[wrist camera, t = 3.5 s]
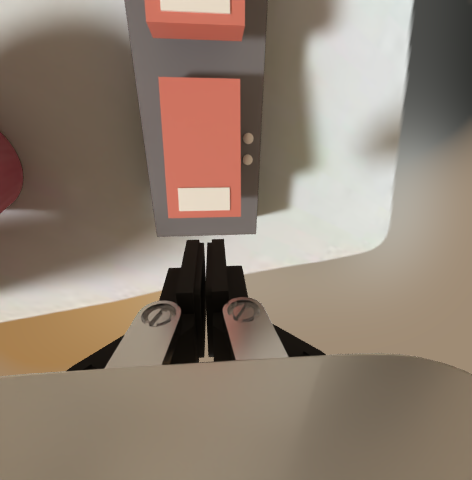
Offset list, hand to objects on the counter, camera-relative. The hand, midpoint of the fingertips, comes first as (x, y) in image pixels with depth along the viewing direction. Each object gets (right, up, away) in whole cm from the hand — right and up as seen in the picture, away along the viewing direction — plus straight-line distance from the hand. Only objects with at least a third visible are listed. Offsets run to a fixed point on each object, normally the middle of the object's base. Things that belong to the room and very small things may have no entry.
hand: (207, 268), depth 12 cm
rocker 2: (-1, +7, +6) cm, 10 cm away
